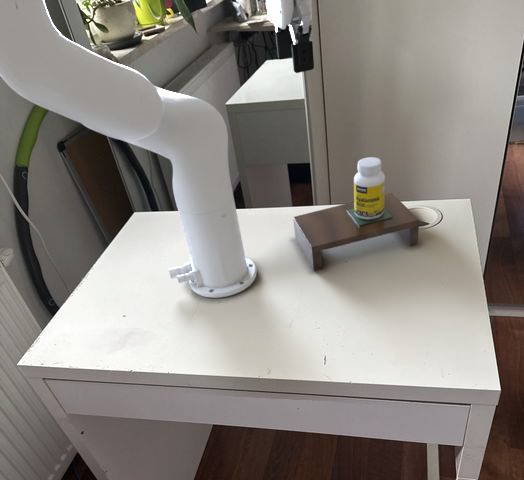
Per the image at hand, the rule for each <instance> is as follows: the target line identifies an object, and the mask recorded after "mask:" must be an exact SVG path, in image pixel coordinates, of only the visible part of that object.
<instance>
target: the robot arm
mask: <svg viewBox="0 0 524 480" xmlns="http://www.w3.org/2000/svg"><path fill="white" fill-rule="evenodd" d="M265 2H266V11H267V12H266V13H267V18H268V20H269V22H270V23H272V24H273V25H274V31H275V33H274V35H275V43H276V50H277V51H276V53H277V58H278V59H279V60H284V59H289V58H292V68H293V72H294V73H295V74H300V73H304V72H308V71H312V70H314V68H315V57H314V44H313V43H314V42H313V33H312V30H313V28H312V25H311V21H312V18H313V7H312V2H313V1H312V0H266V1H265ZM0 78H1V79H2V80H3V81H4V83H5V84H6V85H7V86H8V87H9V88H10V89H11V90H12V91H14V92H15V93H16V94H18V95H19V96H20V97H22V98H24V99H25V100H27V101H29V102H30V103H32V104H34V105H36V106H39V107H40V108H43V109H45V110H48V111H51V112H52V113H55V114H58V115H60V116H62V117H65V118H67V119H69V120H71V121H74V122H77V123H80V124H81V125H82V126H84V127H85V128H87V129H89V130H92V131H94V132H96V133H99V134H100V135H104V136H106V137H108V138H111V139H115V140H120V141H123V142H125V143H128V144H131V145H134V146H136V147H139V148H142V149H145V150H147V151H150V152H152V153H154V154H157V155H159V156H162V157H164V158H165V159H167V160H169V161H170V163H171V167H172V181H171V182H172V193H173V197H174V201H175V204H176V208H177V211H178V212H177V213H178V215H179V219H180V223H181V226H182V229H183V233H184V237H185V241H186V244H187V249H188V252H189V261H188V262H185V263H184V264H183V265H181V266H174V267H171V268H168V272H169V276H170V279H171V280H173V279H177V283H178V284H182V283H186V282H188V283H189V286H190V289H191V290H192V291H193V292H194V293H195V294H197V295H199V296H200V297H205V298H213V299H215V298H217V299H218V298H227V297H230V296H234V295H236V294H239V293H240V292H242V291H244V290H246V289H247V288H249V287H250V286H251V285H252V284H253V283H254V282H255V280H256V278H257V272H258V271H257V266H256V264H255V262H254V261H253V260H252V259H251V258H249V257H247V256H246V254H245V249H244V245H243V244H244V243H243V239H242V234H241V228H240V222H239V217H238V213H237V207H236V202H235V197H234V191H233V187H232V181H231V175H230V166H229V134H228V127H227V124H226V122H225V119H224V118H223V116H222V115H221V113H220V112H219V111H218V109H217V108H216V107H214V106H213V105H212V104H211V103H209V102H207V101H205V100H204V99H200V98H198V97H194V96H191V95H187V94H183V93H178V92H174V91H171V90H167V89H163V88H161V87H158V86H157V85H154V84H153V82H151V81H150V80H149V79H148V78H147V77H146V76H145V75H143V74H142V73H140V72H139V71H137V70H135V69H133V68H131V67H129V66H126V65H124V64H120V63H117V62H114V61H112V60H110V59H108V58H106V57H103V56H101V55H99V54H97V53H95V52H93V51H91V50H89V49H87V48H85V47H83V46H82V45H80V44H79V43H76V42H74V41H72V40H70V39H69V38H67V37H66V36H64V35H63V34H62V33H61V32H60V31H59V29H57V27H56V26H55V24H54V22H53V20H52V18H51V16H50V13H49V10H48V9H47V5H46V2H45V0H0Z"/></svg>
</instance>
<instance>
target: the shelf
mask: <svg viewBox="0 0 524 480" xmlns="http://www.w3.org/2000/svg"><path fill="white" fill-rule="evenodd" d="M292 219H293V228H294V229H293V230H294V236H295V242H296V243H297V245H298V246H299V248H300V250H301V251H302V253H303V255H304V256H305V258H306V260H307V262H308V263H309V265H310V267H311V268H312V270H313V271H314V272H315V271H318V270H322V269H323V262H322V261H323V260H322V251H326V250H329V249H333V248H338V247H341V246H345V245H349V244H352V243H356V242H361V241H364V240H368V239H372V238H375V237H380V236H384V235H388V234H391V233H395V232H396V233H397V234H398V235H399V237H400V238H402V240H403V241H404V242H405V243H406V244H407V245H408V246H409V247H412V246H416V245H419V244H418V243H419V229H420V219H419V218H418V217H417V216H416V215H415V214H414V213H413V212H412V211H411V210H410V209H409V208H408V207H407V206H406V205H405V204H404V203H403V202H402V201H401V200H400V199H399V198H398V197H396V196H395V194H394V193H393V192H388V193H385V198H384V213H383V214H382V215H381V216H380V217H378V218H375V219H361V218H358V217H357V216H356V215H355V211H354V201H352V202H347V203H344V204H339V205H336V206H331V207H327V208H324V209H319V210H316V211H315V210H314V211H310V212H308V213H307V212H306V213H304V214H299V215H295V216H293V217H292Z"/></svg>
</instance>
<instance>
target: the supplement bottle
mask: <svg viewBox="0 0 524 480" xmlns="http://www.w3.org/2000/svg"><path fill="white" fill-rule="evenodd" d="M385 191H386V177H385V173H384V172H383V171H382V161H381V159H380V158H378V157H373V156H369V157H364V158H361V159H359V160H358V161H357V172H356V174H355V175H354V177H353V199H354V200H353V202H354V211H355V215H356V216H357V217H358V218H361V219H375V218H378V217H380V216H381V215H382V214H383V213H384V198H385V194H386V193H385Z"/></svg>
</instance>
